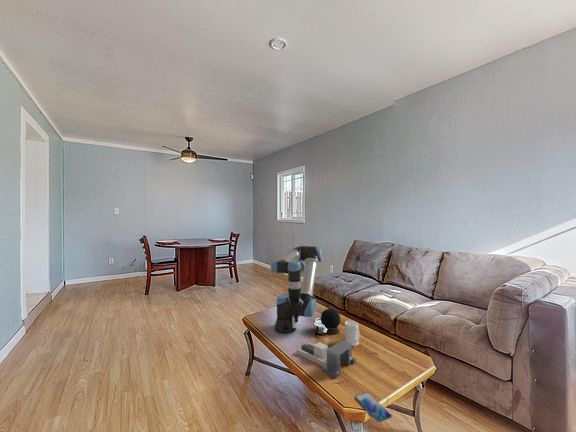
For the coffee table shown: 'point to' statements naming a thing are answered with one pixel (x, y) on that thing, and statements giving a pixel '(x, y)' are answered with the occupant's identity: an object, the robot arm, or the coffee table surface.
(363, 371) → the coffee table surface
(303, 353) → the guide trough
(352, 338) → the mug
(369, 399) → the smartphone
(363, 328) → the coffee table surface
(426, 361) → the coffee table surface
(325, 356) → the plug
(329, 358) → the housing
